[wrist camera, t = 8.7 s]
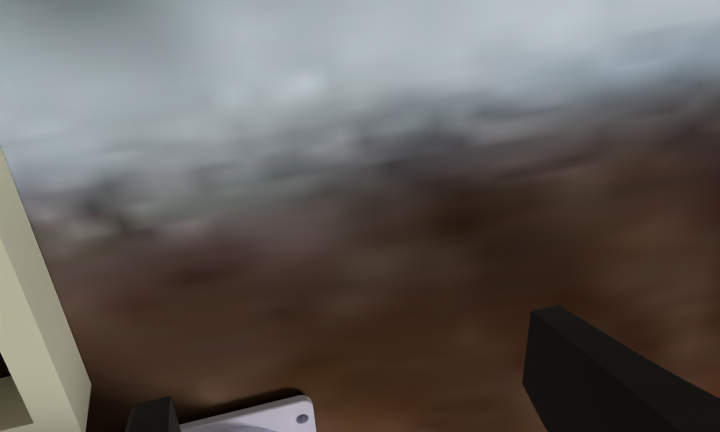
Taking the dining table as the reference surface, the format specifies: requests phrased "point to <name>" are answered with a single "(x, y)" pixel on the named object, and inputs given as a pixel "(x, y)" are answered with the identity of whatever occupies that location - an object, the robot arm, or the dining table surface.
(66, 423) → the peg frame
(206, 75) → the dining table surface
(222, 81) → the dining table surface
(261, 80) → the dining table surface
